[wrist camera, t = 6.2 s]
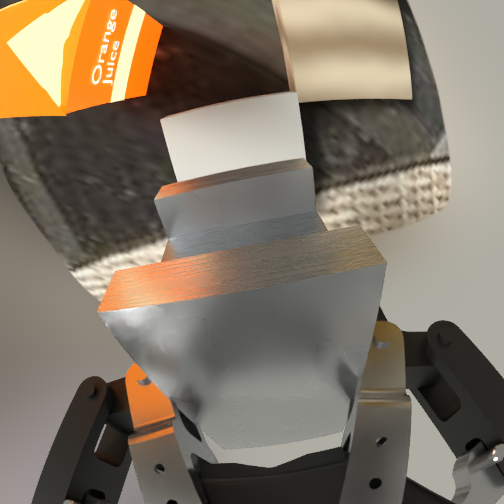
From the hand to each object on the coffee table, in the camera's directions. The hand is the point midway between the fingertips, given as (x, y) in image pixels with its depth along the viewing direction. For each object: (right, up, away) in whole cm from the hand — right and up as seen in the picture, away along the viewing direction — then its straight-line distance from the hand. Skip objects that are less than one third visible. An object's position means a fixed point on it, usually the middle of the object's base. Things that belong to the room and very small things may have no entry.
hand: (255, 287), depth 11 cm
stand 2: (+8, +22, +9) cm, 25 cm away
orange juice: (-14, +20, +9) cm, 26 cm away
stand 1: (-1, +11, +16) cm, 19 cm away
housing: (0, +1, +1) cm, 1 cm away
